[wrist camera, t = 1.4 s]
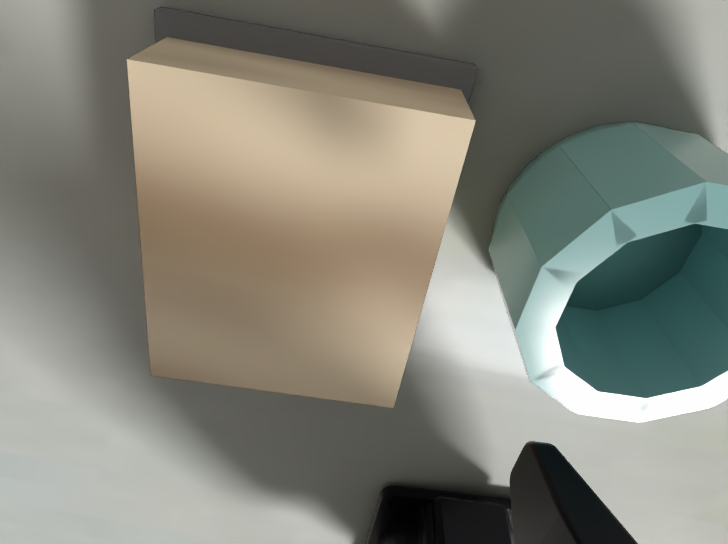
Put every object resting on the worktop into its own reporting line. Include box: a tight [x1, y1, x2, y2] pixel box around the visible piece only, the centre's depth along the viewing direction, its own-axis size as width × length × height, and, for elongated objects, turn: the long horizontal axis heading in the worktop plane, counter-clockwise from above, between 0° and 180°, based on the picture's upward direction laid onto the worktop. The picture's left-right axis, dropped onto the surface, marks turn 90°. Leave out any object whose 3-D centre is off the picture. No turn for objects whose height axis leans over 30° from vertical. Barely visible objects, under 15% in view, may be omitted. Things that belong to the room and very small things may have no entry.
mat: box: [154, 7, 478, 104], centre depth 14 cm, size 9×7×1 cm
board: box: [127, 37, 476, 408], centre depth 13 cm, size 8×6×2 cm
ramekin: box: [488, 122, 728, 423], centre depth 13 cm, size 6×6×4 cm
